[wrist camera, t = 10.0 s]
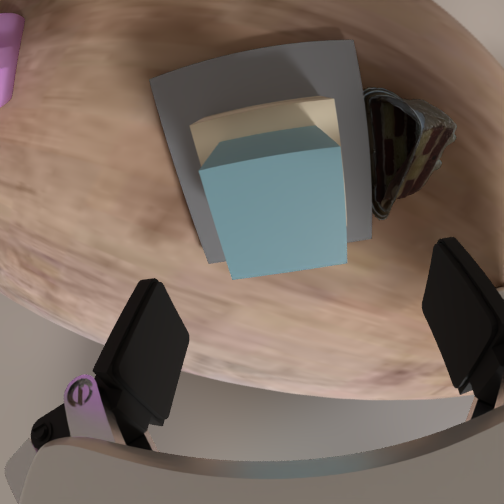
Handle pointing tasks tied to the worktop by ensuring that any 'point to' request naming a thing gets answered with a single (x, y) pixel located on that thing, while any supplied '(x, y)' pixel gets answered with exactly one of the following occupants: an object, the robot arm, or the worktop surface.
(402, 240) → the worktop surface
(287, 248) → the teal block
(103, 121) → the worktop surface
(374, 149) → the chocolate cake
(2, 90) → the teakettle
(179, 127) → the stacking base
